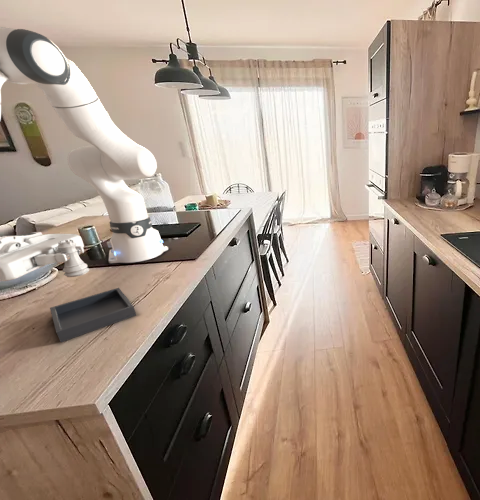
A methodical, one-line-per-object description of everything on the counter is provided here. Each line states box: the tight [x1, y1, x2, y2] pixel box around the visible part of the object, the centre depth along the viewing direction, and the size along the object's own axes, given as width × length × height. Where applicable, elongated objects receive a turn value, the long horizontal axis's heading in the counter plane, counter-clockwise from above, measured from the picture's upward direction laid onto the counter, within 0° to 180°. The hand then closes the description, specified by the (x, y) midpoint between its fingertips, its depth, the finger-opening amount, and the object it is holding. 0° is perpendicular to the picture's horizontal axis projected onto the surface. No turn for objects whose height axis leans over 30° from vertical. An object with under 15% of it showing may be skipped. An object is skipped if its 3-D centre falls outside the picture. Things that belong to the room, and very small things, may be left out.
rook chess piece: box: [57, 239, 90, 278], centre depth 65 cm, size 4×4×8 cm
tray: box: [49, 287, 137, 343], centre depth 70 cm, size 15×14×3 cm
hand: (74, 253), depth 65 cm, fingers closed on rook chess piece, 3 cm apart
